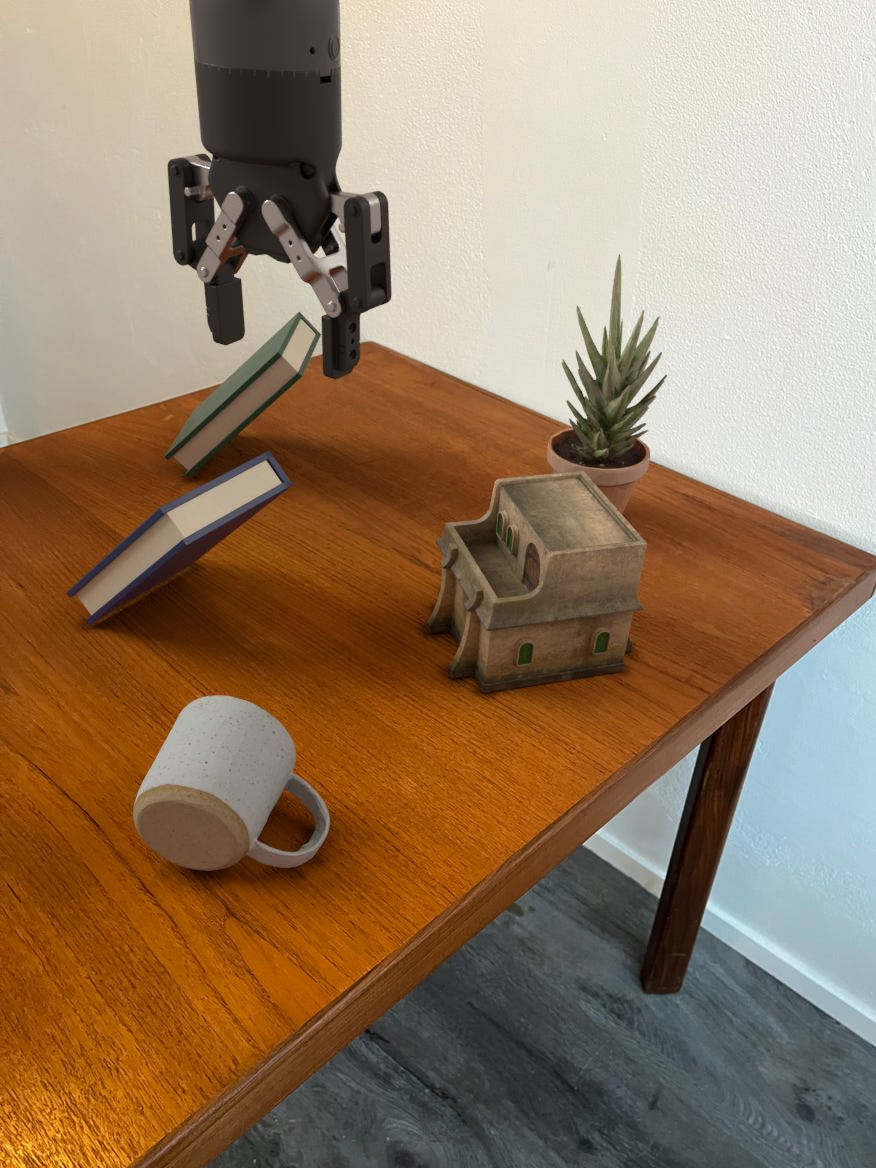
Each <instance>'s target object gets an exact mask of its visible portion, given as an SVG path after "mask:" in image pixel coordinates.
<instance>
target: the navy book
mask: <svg viewBox="0 0 876 1168" xmlns="http://www.w3.org/2000/svg"><path fill="white" fill-rule="evenodd" d="M293 484H294V483H292V481H291V480H290V479H289V476H287V473H285V471H284V469H283V468H282V467H281V465H280V463H279V462H278V461H277V460H276V458H275V457H274V455H273V453H271V451H270V450H268V451H265V452H264V453H262V454H260V455H258V456H256V457H254V458H252V459H250V460H248V461H246V462H244V463H242V464H241V465H239V466H237V467H235V468H233V469H231V470H229V471H227V472H225V473H223V474H222V475H219V476H218V477H216V478H214V479H212V480H210V481H208V482H206V483H204V484H202V485H200V486H198V487H196V488H194V489H192V490H191V491H188V492H187V493H185V494H183V495H181V496H178V497H177V498H175V499H174V500H171V501H170V502H168V503H166V504H164V505H162V506H160V507H159V508H157V509H156V510H155V511H154V512H153V513H152V514H151V515H150V516H148V518H146V519H145V520H144V521H143V522H142V523H141V524H140V525H139V526H138V527H136V529H134V530H133V531H132V532H131V533H130V534H129V535H127V537H126V538H124V539H123V540H122V541H121V542H120V543H119V544H118V545H117V546H116V547H114V549H112V550H111V551H110V552H109V553H108V554H107V555H106V556H104V558H103V559H102V560H100V561H99V562H98V563H97V564H96V565H95V566H93V568H91V569H90V570H89V571H88V572H87V573H86V574H85V575H84V576H83V577H82V578H80V579H79V580H78V581H77V582H76V583H75V584H74V585H72V587H71V588H70V589H68V590H67V592H66V593H65V594H66V595H67V596H68V598H73V597H75V596H76V597H77V598H78V599H79V601H80V602H81V603H82V605H83V606H84V607H85V609H86V610H87V612H88V613H89V614H90V616H89V617H88V618H86V622H87V623H88V625H90V626H91V625H92V624H94V623H96V622H97V621H100V620H101V619H103V618H105V617H106V616H108V615H109V614H112V613H113V612H115V611H116V610H118V609H119V608H121V607H123V606H124V605H127V604H128V603H129V602H131V601H133V600H135V599H136V598H138V597H140V596H141V595H143V594H145V593H146V592H148V591H150V590H151V589H154V587H157V586H158V585H160V584H162V583H163V582H165V581H166V580H168V579H170V578H172V577H174V576H175V575H176V574H178V573H180V572H182V571H184V570H185V569H187V568H189V567H190V566H192V565H193V564H194V563H196V562H197V561H198V560H199V559H201V558H202V557H203V556H204V555H206V554H207V553H208V552H209V551H211V550H212V549H214V548H215V547H216V546H217V545H218V544H220V543H221V542H222V541H224V540H225V539H226V538H228V537H229V536H230V535H231V534H233V533H234V532H235V531H236V530H237V529H238V528H240V527H241V526H243V525H244V524H245V523H246V522H248V521H249V520H250V519H252V518H253V517H254V516H255V515H257V514H258V513H259V512H260V511H262V510H263V509H264V508H266V507H267V506H268V505H270V504H271V503H272V502H273V501H275V500H276V499H277V498H278V497H280V496H281V495H282V494H283V493H285V492H286V491H287V490H288V489H289V488H291V487H292V486H293Z"/></svg>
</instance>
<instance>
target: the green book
mask: <svg viewBox="0 0 876 1168" xmlns="http://www.w3.org/2000/svg"><path fill="white" fill-rule="evenodd" d="M321 337H322V333H321V332H320V331H318V329H317V328H316V327H315V326H314V325H313V324H312V323H311V322H310V321H309V320H308V319H307V318H306V317H305V316H304V315H303V314H302V312H301V311H298V312H296V314H295V315H294V316H293V317H291V319H290V320H288V321H287V322H286V323H285V324H284V325H283V326H281V328H280V329H279V330H278V331H276V332H275V334H274V335H272V336H271V337H270V338H269V339H268V340H267V341H266V342H265V343H264V344H262V346H260V347H259V348H258V349H257V350H256V351H255V352H254V353H253V354H252V355H251V356H250V357H249V358H248V359H246V360H245V361H244V363H243V364H241V365H240V366H239V367H238V368H237V369H236V370H235V371H234V372H233V373H232V374H231V375H230V376H228V377H227V378H226V380H224V381H223V382H222V383H220V384H219V386H218V387H217V388H215V390H214V391H212V392H211V393H210V394H209V395H208V396H207V397H206V398H205V399H204V400H203V401H202V402H201V403H199V404H198V405H197V406H196V407H195V408H194V409H193V411H192V412H191V414H190V415H189V416H188V419H187V420H186V422H185V423H184V425H183V426H182V428H181V430H180V431H179V433H178V434H177V435H176V437H175V439H174V440H173V442H172V443H171V445H170V446H169V448H168V449H167V451H166V453H165V454H164V456H163V457H164V459H165V460H167V461H169V460H171V459H172V458H173V459H175V460H176V461H177V462H178V463H179V464H181V465H182V467H184V468H185V469H186V472H185V473H184V476H185V478H187V479H191V477H193V475H194V474H196V473H197V472H198V471H199V470H200V469H201V468H202V467H203V466H204V465H205V464H207V463H208V462H209V461H210V460H211V459H212V458H213V457H214V456H215V455H217V454H218V453H219V452H220V451H221V450H222V449H224V447H225V446H227V445H228V444H229V443H230V442H231V441H232V440H234V438H236V437H237V436H238V435H239V434H240V433H241V432H243V430H245V429H246V428H247V427H248V426H249V425H250V424H251V423H252V422H254V421H255V420H256V419H257V418H258V417H259V416H260V415H261V414H262V413H263V412H265V411H266V410H267V409H268V408H269V407H270V406H271V405H273V404H274V403H275V402H276V401H277V400H278V399H279V398H280V397H281V396H283V395H284V394H285V393H286V392H287V391H288V390H289V389H290V388H292V386H294V385H295V384H296V383H297V382H298V381H299V380H301V378H303V376H304V373H306V370H307V367H308V365H309V363H310V360H311V358H312V356H313V354H314V352H315V349H316V348H317V345H318V343H319V341H320V339H321Z"/></svg>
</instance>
